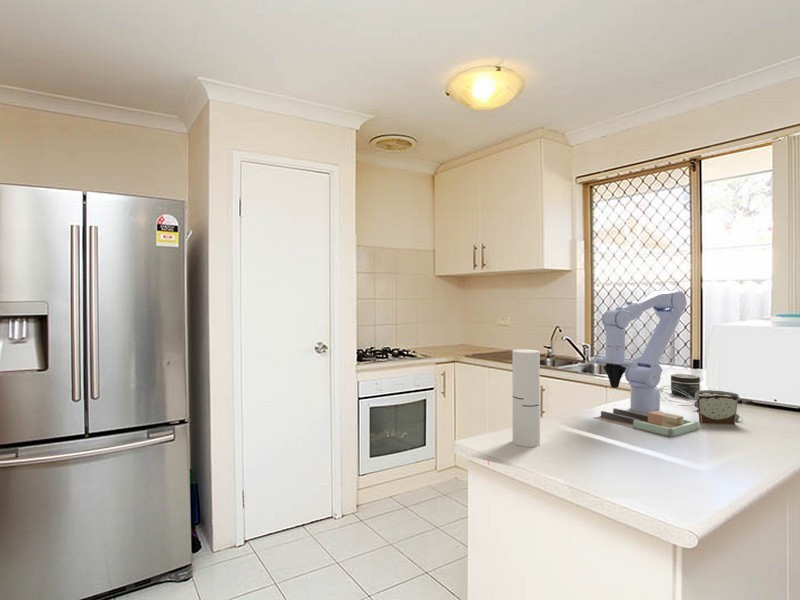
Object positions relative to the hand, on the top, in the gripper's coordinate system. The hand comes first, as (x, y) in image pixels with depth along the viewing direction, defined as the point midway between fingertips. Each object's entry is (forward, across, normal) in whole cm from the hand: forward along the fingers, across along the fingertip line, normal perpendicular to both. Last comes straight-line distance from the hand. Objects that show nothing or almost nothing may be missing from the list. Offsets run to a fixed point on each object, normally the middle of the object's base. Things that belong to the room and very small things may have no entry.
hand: (614, 387), depth 153 cm
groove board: (+9, +12, -4) cm, 16 cm away
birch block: (+8, +21, -3) cm, 23 cm away
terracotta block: (+8, +17, -4) cm, 19 cm away
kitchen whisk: (+9, +10, +32) cm, 35 cm away
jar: (+9, -4, +53) cm, 54 cm away
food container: (+9, +22, +16) cm, 29 cm away
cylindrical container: (+10, +4, -46) cm, 47 cm away
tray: (+8, +19, -4) cm, 21 cm away
